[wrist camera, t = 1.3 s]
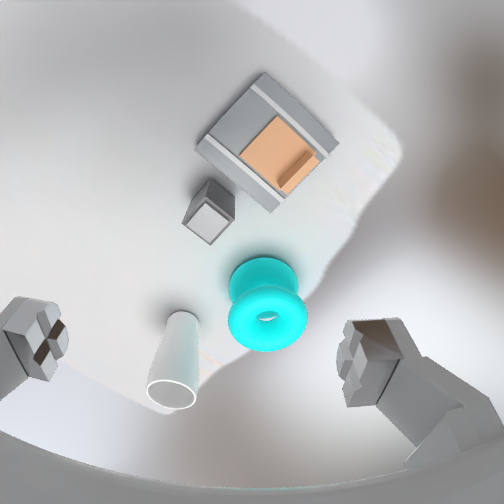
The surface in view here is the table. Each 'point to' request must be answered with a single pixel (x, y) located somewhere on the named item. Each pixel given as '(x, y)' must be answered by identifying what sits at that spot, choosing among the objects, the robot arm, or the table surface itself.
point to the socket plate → (249, 126)
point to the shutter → (280, 155)
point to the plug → (210, 212)
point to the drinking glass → (176, 363)
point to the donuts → (265, 305)
